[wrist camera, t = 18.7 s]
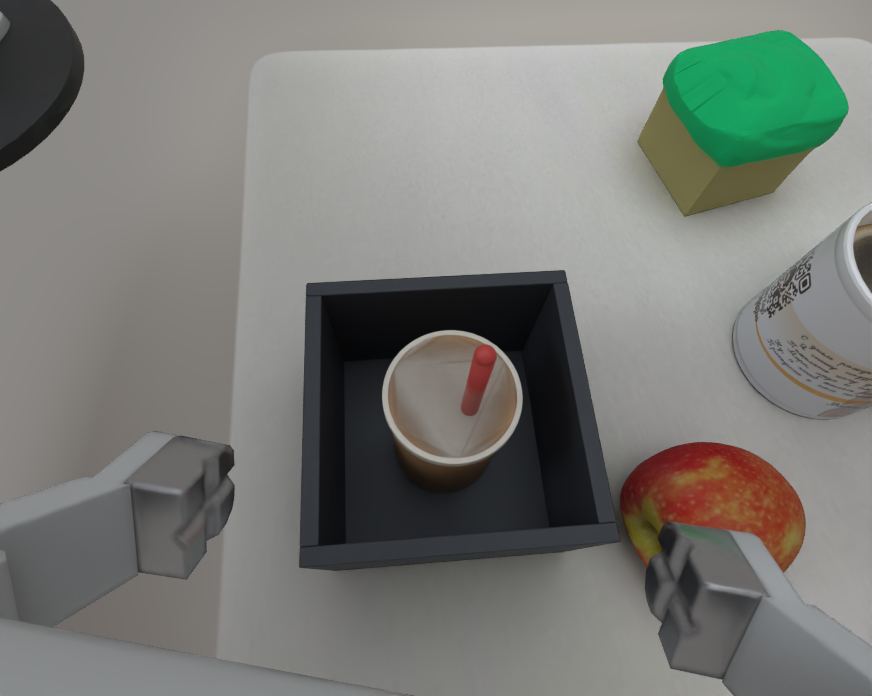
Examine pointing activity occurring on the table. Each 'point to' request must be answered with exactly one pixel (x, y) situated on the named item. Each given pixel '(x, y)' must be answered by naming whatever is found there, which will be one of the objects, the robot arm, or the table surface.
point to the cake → (740, 118)
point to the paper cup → (450, 407)
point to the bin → (509, 467)
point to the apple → (712, 498)
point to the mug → (815, 328)
